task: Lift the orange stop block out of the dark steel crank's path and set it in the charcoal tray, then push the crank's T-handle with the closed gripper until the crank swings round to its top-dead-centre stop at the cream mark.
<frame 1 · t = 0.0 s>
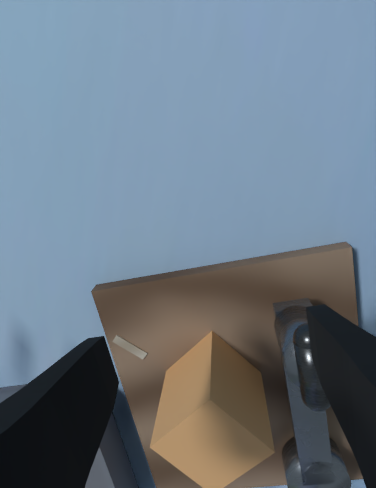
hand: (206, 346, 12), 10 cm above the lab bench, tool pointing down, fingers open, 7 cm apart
crank: (313, 431, 20), point 4 cm above the lab bench, hinge at 0.0°
tray: (62, 443, 28), on the lab bench
crank board: (238, 380, 25), on the lab bench
stop block: (213, 371, 23), point 1 cm above the lab bench, touching crank board
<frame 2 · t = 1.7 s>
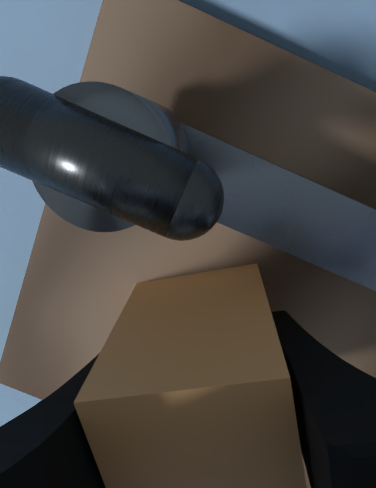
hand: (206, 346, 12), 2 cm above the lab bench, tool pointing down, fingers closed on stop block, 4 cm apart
crank board: (264, 300, 14), on the lab bench
stop block: (207, 326, 13), point 1 cm above the lab bench, touching crank board, gripper
when the fingers open (3 cm above the lab bench, at t = 5.6 s): stop block drops 1 cm, resting on tray.
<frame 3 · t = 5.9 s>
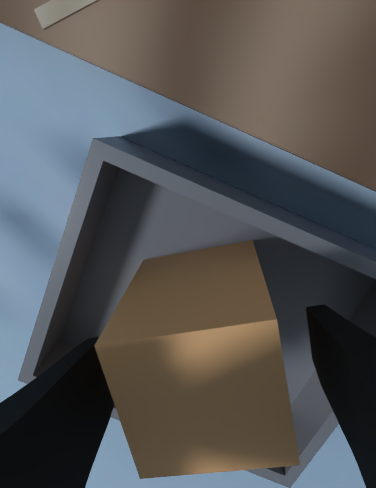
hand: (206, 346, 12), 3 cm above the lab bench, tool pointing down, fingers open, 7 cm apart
tray: (208, 300, 15), on the lab bench
stop block: (207, 299, 15), point 1 cm above the lab bench, touching tray
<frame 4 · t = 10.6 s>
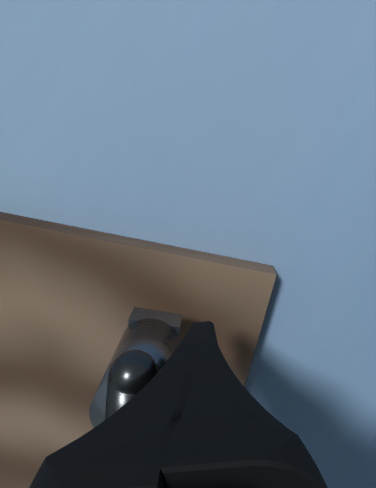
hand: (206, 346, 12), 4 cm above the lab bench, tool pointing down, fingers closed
crank board: (84, 388, 19), on the lab bench
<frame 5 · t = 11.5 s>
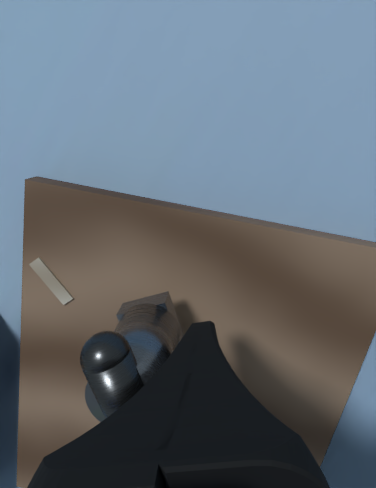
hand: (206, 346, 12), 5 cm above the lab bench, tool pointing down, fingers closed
crank: (196, 478, 14), point 4 cm above the lab bench, hinge at 28.0°, touching gripper
crank board: (179, 377, 18), on the lab bench
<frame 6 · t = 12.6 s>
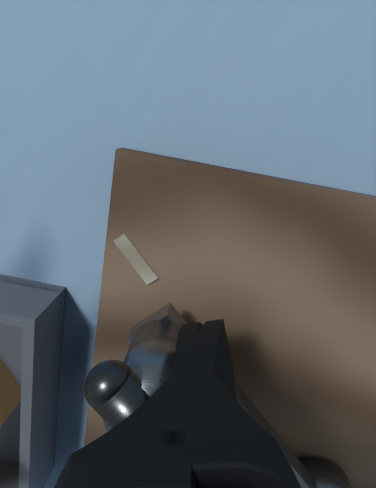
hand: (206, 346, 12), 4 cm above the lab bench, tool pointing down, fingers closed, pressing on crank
crank: (256, 477, 14), point 4 cm above the lab bench, hinge at 46.7°, touching gripper
crank board: (258, 361, 17), on the lab bench
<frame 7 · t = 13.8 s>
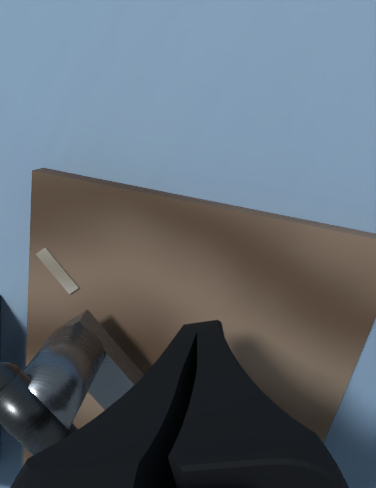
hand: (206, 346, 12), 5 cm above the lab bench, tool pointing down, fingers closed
crank: (162, 472, 15), point 4 cm above the lab bench, hinge at 45.8°
crank board: (182, 365, 18), on the lab bench
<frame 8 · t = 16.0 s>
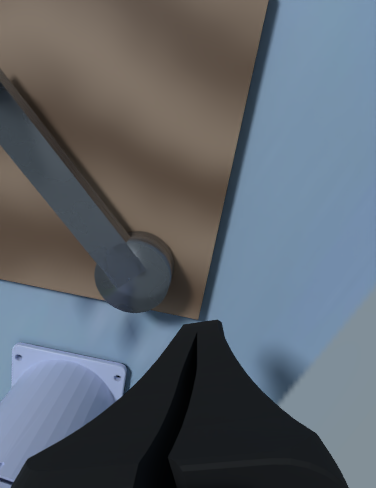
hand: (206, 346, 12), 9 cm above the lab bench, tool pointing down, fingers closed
crank: (52, 195, 16), point 4 cm above the lab bench, hinge at 45.8°
crank board: (90, 145, 20), on the lab bench
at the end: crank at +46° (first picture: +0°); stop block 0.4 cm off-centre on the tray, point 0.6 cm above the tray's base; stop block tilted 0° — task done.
